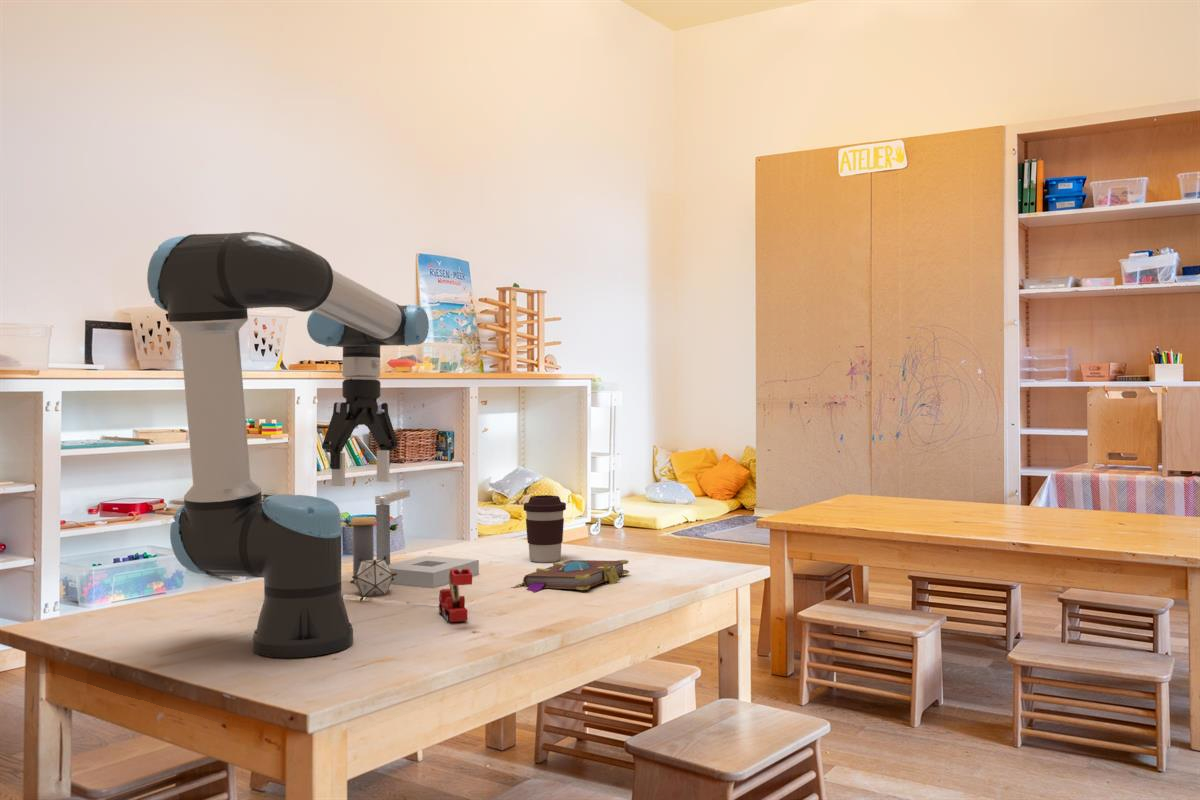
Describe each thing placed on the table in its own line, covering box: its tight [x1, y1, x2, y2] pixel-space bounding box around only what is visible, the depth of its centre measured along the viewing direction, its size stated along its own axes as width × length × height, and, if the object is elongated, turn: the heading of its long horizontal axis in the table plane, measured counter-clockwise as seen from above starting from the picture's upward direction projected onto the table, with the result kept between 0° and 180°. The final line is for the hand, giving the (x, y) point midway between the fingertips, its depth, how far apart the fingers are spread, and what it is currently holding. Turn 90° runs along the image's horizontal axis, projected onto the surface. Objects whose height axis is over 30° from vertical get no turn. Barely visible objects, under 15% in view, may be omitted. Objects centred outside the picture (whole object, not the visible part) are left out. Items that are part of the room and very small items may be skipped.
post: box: [375, 504, 391, 565], centre depth 212 cm, size 5×5×16 cm
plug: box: [350, 516, 376, 585], centre depth 201 cm, size 5×5×14 cm
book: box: [522, 559, 630, 593], centre depth 205 cm, size 16×25×5 cm, turn 154°
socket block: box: [388, 555, 480, 589], centre depth 206 cm, size 16×14×4 cm
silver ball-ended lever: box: [374, 489, 411, 505], centre depth 218 cm, size 3×16×2 cm, turn 170°
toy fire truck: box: [438, 568, 473, 623], centre depth 173 cm, size 3×14×10 cm, turn 21°
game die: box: [350, 556, 397, 602], centre depth 191 cm, size 9×8×10 cm
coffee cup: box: [523, 494, 567, 564], centre depth 232 cm, size 10×10×15 cm
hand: (361, 483), depth 201 cm, fingers open, 13 cm apart
